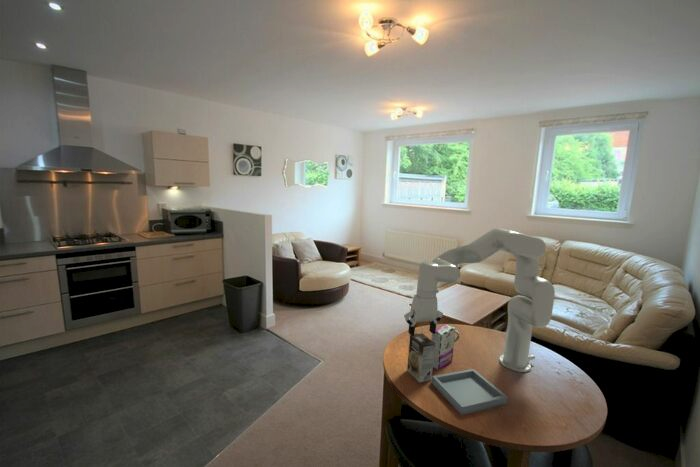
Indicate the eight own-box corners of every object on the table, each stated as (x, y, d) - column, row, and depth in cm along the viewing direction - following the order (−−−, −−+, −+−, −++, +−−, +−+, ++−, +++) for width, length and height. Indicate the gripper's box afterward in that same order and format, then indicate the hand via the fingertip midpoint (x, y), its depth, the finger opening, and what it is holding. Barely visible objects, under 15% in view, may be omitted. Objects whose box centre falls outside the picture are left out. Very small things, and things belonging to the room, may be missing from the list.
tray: (472, 375, 130) (473, 368, 130) (506, 404, 113) (507, 396, 113) (431, 383, 124) (432, 376, 123) (461, 415, 107) (462, 407, 106)
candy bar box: (442, 357, 143) (446, 323, 141) (452, 362, 140) (456, 327, 137) (428, 365, 136) (431, 330, 133) (438, 370, 132) (442, 334, 130)
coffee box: (406, 370, 131) (409, 334, 129) (418, 367, 134) (422, 332, 131) (419, 383, 123) (422, 345, 121) (432, 380, 126) (436, 342, 123)
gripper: (439, 289, 129) (434, 327, 132) (402, 290, 124) (398, 331, 126) (450, 295, 122) (445, 336, 125) (412, 297, 117) (407, 340, 119)
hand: (421, 333), depth 126 cm, fingers open, 9 cm apart
